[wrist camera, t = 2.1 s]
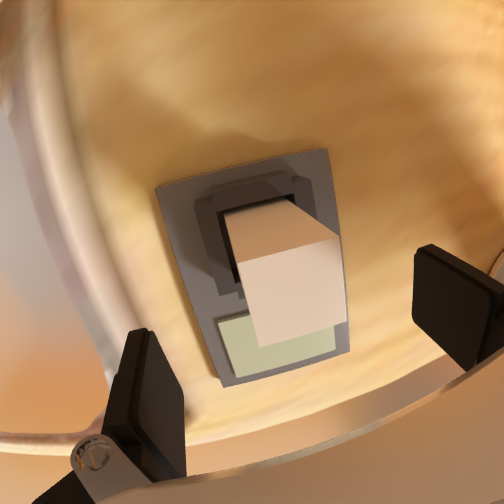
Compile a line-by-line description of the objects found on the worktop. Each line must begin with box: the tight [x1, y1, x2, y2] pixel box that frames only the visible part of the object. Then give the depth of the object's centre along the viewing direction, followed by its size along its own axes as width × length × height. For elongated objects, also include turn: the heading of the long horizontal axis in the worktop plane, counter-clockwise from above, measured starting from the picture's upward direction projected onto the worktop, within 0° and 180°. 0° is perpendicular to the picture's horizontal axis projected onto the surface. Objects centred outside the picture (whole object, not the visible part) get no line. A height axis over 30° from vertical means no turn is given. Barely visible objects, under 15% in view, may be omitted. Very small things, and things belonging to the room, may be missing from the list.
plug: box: [223, 196, 347, 348], centre depth 17 cm, size 4×4×10 cm
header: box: [155, 148, 350, 388], centre depth 22 cm, size 12×18×4 cm, turn 13°
